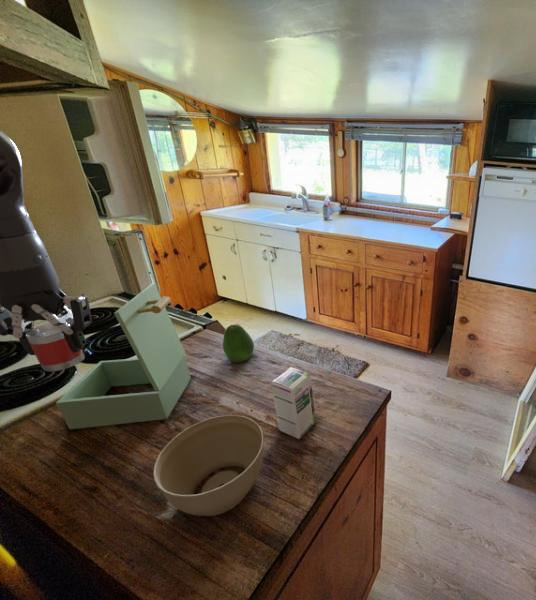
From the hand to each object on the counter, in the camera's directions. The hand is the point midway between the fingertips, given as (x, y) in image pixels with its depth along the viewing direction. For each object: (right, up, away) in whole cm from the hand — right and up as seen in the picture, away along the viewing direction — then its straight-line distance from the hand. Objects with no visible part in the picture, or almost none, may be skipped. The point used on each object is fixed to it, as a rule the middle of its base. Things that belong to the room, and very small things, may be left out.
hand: (58, 350), depth 59 cm
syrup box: (+39, -20, +15) cm, 46 cm away
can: (0, -2, +1) cm, 3 cm away
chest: (-1, -16, +19) cm, 25 cm away
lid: (+7, +1, +13) cm, 15 cm away
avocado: (+15, -9, +37) cm, 41 cm away
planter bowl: (+30, -26, +1) cm, 39 cm away
